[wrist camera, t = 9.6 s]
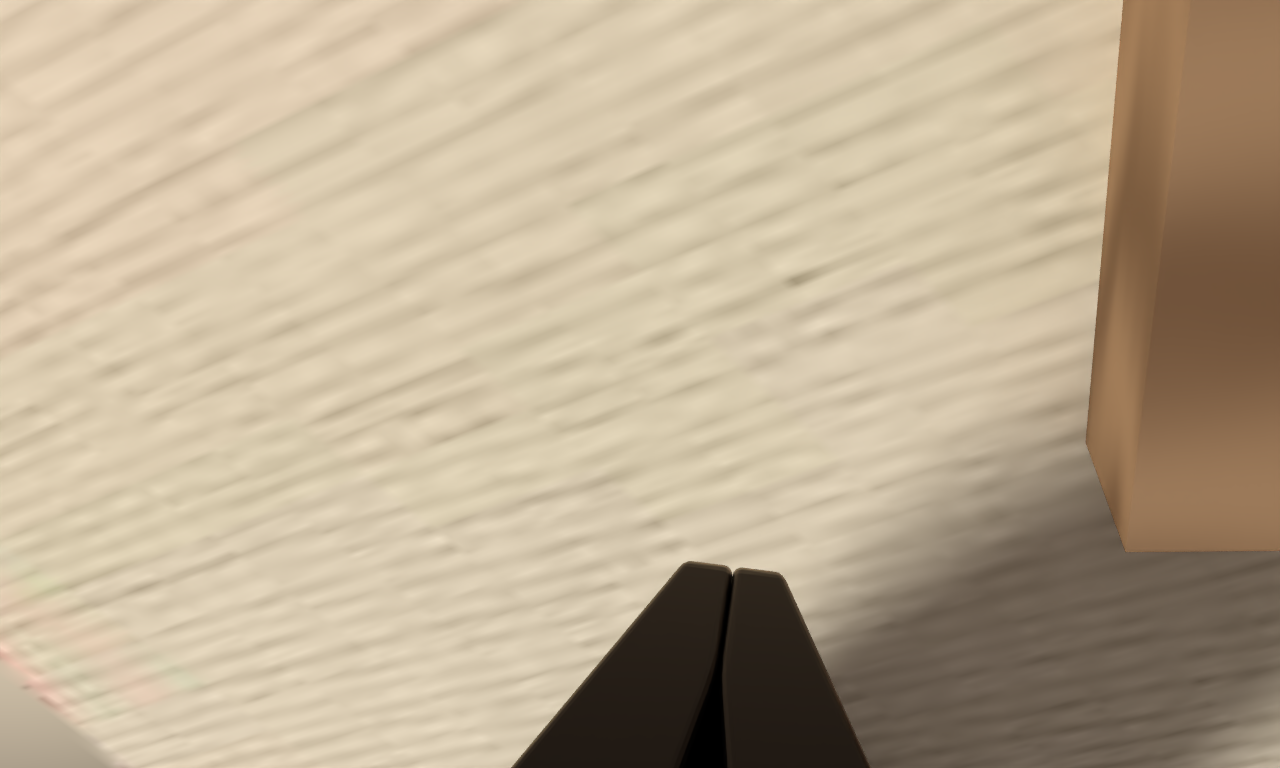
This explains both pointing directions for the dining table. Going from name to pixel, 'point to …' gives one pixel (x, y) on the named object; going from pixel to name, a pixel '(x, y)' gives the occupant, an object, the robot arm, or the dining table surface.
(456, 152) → the dining table surface
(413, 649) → the dining table surface
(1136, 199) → the slab
